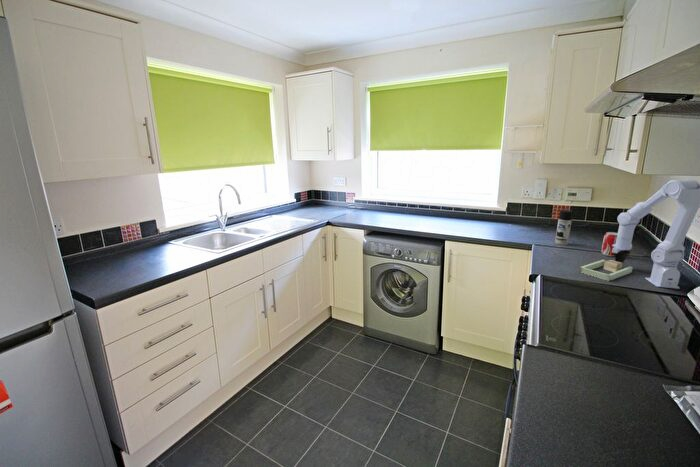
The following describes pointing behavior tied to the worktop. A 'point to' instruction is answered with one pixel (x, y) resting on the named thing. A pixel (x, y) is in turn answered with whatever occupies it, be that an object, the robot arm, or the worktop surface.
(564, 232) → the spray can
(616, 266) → the maple block
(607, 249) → the soda can
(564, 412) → the worktop surface
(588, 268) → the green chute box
